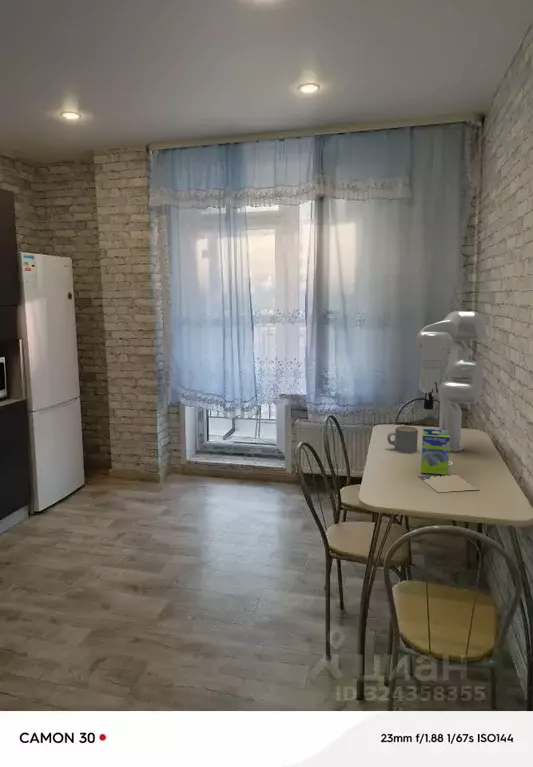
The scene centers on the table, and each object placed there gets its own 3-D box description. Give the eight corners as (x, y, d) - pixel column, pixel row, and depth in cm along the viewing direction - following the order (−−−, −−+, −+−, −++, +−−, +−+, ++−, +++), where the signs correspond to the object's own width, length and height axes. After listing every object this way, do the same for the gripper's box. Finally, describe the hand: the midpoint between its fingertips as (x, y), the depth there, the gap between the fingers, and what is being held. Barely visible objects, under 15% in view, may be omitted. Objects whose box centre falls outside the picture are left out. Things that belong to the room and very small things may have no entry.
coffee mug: (417, 447, 244) (418, 426, 242) (416, 453, 235) (417, 432, 233) (388, 445, 248) (389, 424, 247) (386, 450, 239) (386, 429, 237)
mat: (418, 476, 204) (418, 476, 204) (456, 474, 206) (456, 474, 206) (437, 492, 188) (437, 492, 188) (479, 490, 190) (479, 489, 190)
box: (420, 473, 208) (422, 430, 207) (420, 470, 212) (422, 428, 211) (448, 475, 205) (450, 431, 204) (447, 472, 209) (449, 430, 208)
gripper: (414, 362, 216) (412, 405, 219) (429, 366, 201) (427, 413, 204) (431, 361, 217) (429, 405, 220) (448, 366, 202) (445, 412, 205)
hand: (428, 408), depth 212 cm, fingers closed
